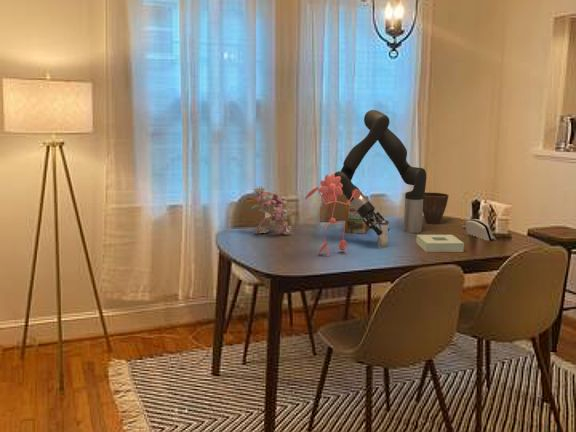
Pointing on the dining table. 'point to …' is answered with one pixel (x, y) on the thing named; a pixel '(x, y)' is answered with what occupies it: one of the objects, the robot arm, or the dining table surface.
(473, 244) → the dining table surface
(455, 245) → the hole plate
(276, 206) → the flower
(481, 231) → the grey napkin holder
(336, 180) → the pink blossom sprig
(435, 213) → the plant pot
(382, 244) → the steel peg
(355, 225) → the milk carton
